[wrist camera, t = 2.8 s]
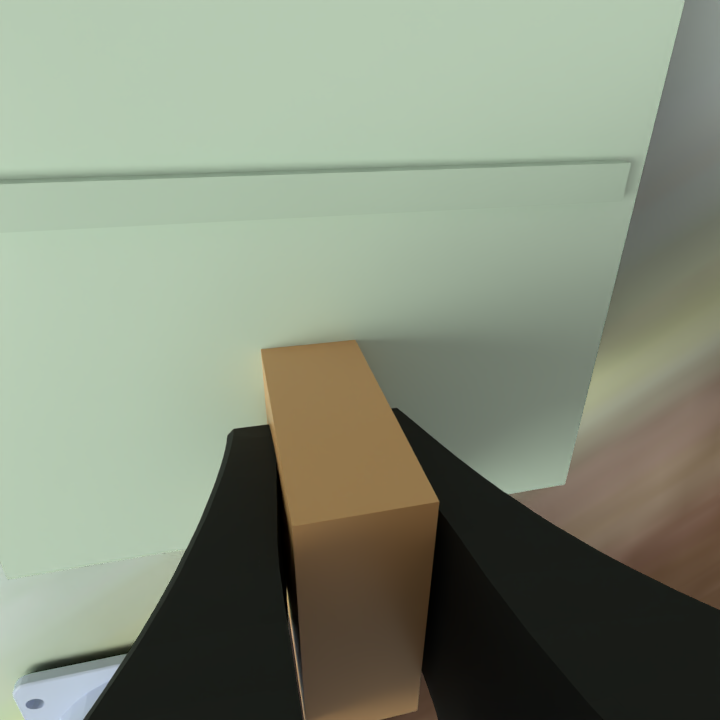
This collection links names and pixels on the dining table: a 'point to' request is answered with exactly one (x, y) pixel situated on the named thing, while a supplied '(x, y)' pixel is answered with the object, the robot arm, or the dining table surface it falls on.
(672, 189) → the dining table surface
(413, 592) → the lid
